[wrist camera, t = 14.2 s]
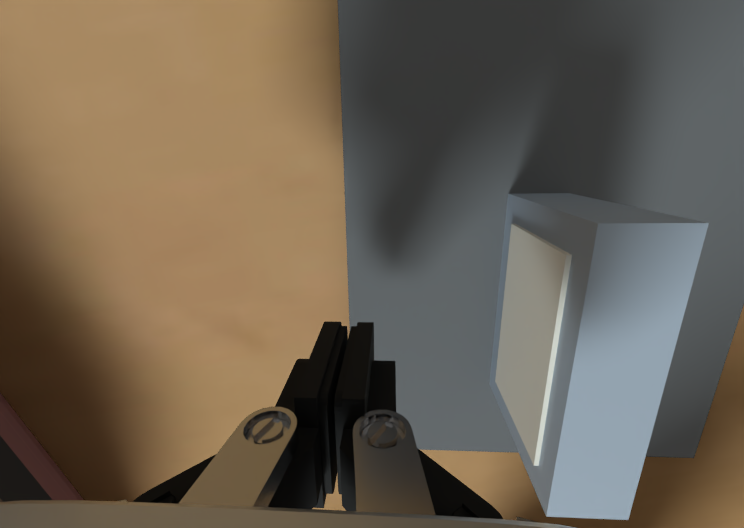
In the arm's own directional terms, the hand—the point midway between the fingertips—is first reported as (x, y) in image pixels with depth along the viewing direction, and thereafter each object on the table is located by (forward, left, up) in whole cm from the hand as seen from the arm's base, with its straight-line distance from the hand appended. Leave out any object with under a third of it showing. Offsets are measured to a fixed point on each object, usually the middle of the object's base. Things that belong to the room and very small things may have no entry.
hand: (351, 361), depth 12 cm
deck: (-1, +7, -4) cm, 8 cm away
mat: (-3, +8, -5) cm, 10 cm away
